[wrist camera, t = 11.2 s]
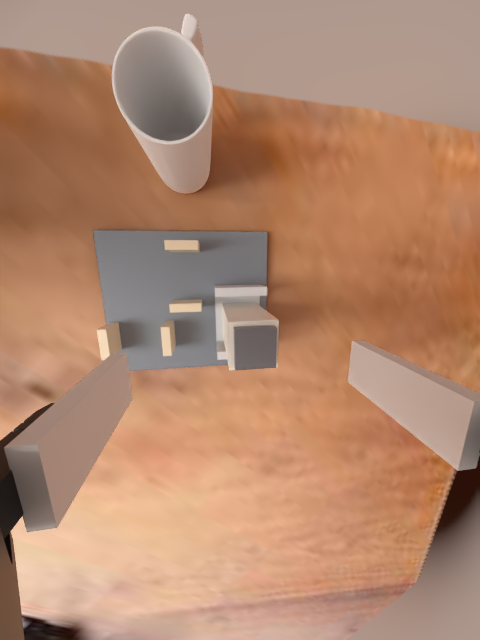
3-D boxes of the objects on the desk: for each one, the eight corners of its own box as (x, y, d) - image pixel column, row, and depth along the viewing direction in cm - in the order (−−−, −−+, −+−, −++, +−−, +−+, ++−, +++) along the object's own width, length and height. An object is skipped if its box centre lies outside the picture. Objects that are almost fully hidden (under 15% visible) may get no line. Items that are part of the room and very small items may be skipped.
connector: (223, 336, 31) (230, 375, 20) (222, 303, 30) (228, 324, 19) (255, 334, 32) (280, 372, 20) (255, 302, 31) (282, 322, 19)
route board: (115, 369, 31) (96, 388, 26) (96, 231, 27) (70, 222, 22) (264, 360, 34) (273, 376, 29) (265, 232, 30) (277, 225, 25)
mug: (200, 206, 28) (193, 162, 17) (147, 181, 27) (99, 115, 15) (230, 121, 27) (245, 8, 15) (174, 91, 26) (144, -59, 14)
